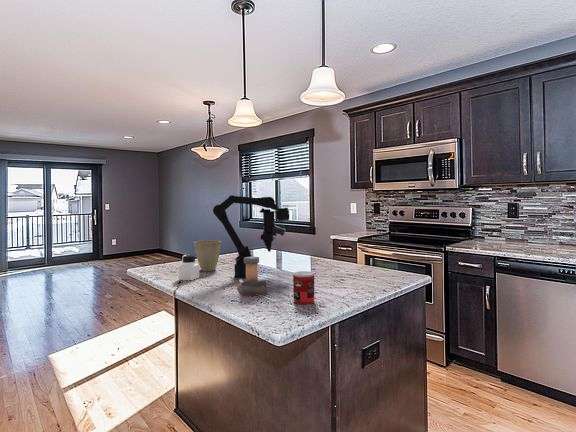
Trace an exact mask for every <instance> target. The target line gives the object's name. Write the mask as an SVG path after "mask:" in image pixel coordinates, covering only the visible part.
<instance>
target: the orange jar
mask: <svg viewBox="0 0 576 432" xmlns="http://www.w3.org/2000/svg"><path fill="white" fill-rule="evenodd" d="M244 263H245V264H246V277H245V281H255V280H258V279H259V269H258V268H259V267H258V266H259V263H260V257H259V256H251V257H245V258H244Z"/></svg>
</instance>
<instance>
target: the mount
mask: <svg viewBox="0 0 576 432" xmlns="http://www.w3.org/2000/svg"><path fill="white" fill-rule="evenodd" d="M238 283H239V284H237V290H238V291H239V292H240V294H241V296H242V297H249V296H259V295H267V279H259V278H258V280H255V281H246V280H244V281H243V279H239V280H238Z"/></svg>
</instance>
